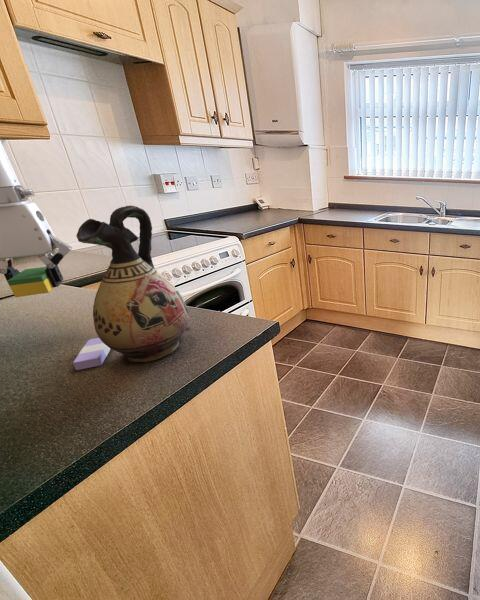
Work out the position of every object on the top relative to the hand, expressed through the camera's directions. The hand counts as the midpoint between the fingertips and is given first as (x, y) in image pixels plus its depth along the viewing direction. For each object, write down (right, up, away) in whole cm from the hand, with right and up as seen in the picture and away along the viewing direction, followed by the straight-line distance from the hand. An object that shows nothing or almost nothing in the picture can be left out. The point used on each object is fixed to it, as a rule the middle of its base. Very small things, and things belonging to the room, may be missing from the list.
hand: (39, 286), depth 70 cm
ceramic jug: (+23, -14, +3) cm, 27 cm away
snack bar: (+11, -14, 0) cm, 18 cm away
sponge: (0, 0, 0) cm, 0 cm away
